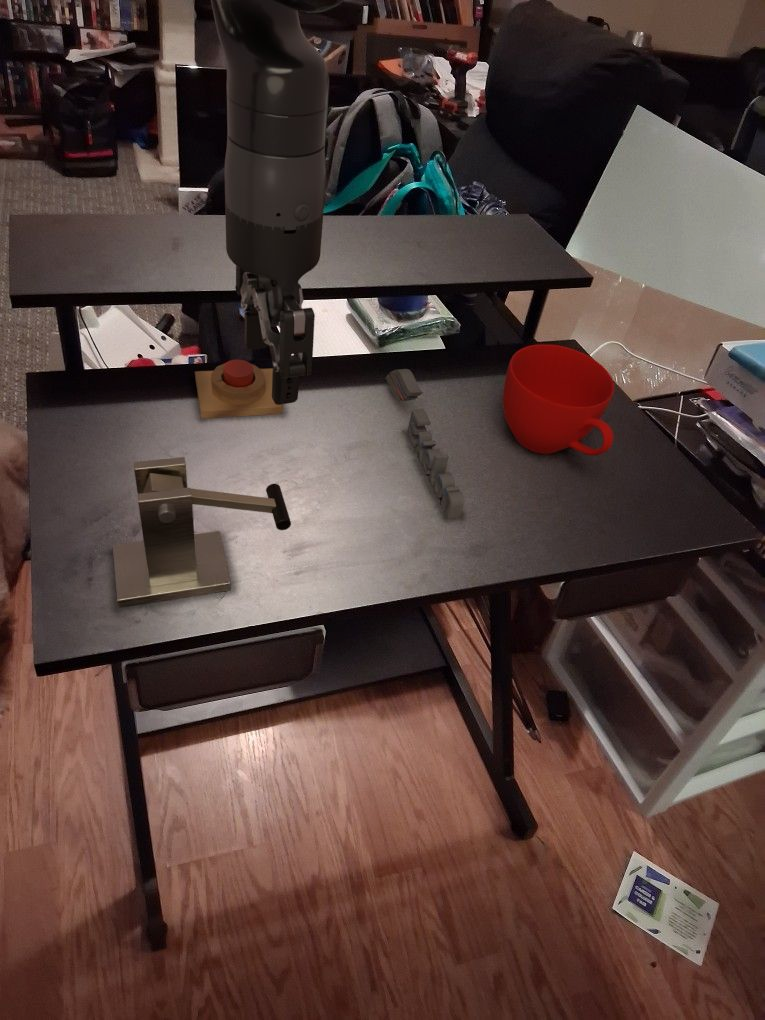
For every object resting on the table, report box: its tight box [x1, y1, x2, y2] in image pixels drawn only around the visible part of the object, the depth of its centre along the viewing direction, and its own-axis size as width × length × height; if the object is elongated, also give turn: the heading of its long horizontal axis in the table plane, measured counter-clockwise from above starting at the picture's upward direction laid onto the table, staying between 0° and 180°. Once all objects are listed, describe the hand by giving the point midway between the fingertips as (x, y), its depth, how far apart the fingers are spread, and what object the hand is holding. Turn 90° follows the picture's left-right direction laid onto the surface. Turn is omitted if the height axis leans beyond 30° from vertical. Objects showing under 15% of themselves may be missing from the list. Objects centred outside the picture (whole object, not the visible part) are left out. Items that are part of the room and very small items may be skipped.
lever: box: [143, 473, 292, 531], centre depth 67 cm, size 13×5×2 cm, turn 107°
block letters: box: [384, 368, 465, 520], centre depth 89 cm, size 25×2×6 cm, turn 17°
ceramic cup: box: [502, 343, 615, 456], centre depth 91 cm, size 13×17×10 cm
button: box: [223, 359, 253, 387], centre depth 91 cm, size 4×4×2 cm
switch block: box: [194, 363, 284, 419], centre depth 92 cm, size 10×8×3 cm
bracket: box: [112, 456, 232, 609], centre depth 68 cm, size 10×7×13 cm, turn 108°
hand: (270, 373), depth 68 cm, fingers open, 8 cm apart
